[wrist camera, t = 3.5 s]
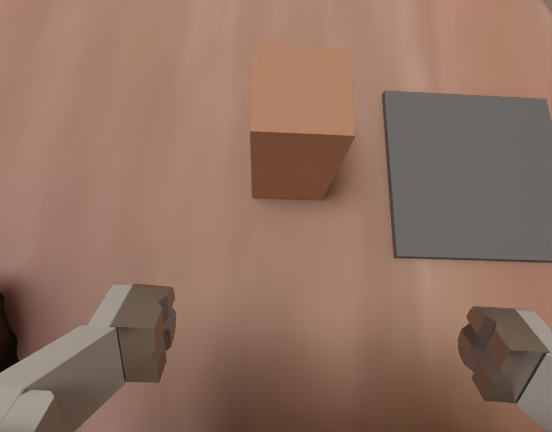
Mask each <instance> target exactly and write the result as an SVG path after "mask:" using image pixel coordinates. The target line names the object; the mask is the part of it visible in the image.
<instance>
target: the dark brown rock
mask: <svg viewBox="0 0 552 432" xmlns="http://www.w3.org/2000/svg"><path fill="white" fill-rule="evenodd" d="M3 300H4V296H3V295H2V293H0V373H1V372H2V371H4V370H6V369H7V368H9V367H11V366H13V365H14V364H16V363H18V362H19V360H18V358H17V354H16V350H17V343H18V342H17V338H16V336H15V334H14V333H13V332H12V330H11V329H10V326H9V325H8V322H7V317H6V314H5V309H4V303H3Z"/></svg>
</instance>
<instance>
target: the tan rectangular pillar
mask: <svg viewBox="0 0 552 432" xmlns="http://www.w3.org/2000/svg"><path fill="white" fill-rule="evenodd" d="M354 138H355V117H354V95H353V74H352V53H351V49H340V48H322V47H303V46H285V45H267V44H254V59H253V81H252V103H251V126H250V141H251V180H252V198H274V199H302V200H323V198H324V196H325V194H326V192H327V190H328V188H329V186H330V184H331V182H332V180H333V178H334V176H335V174H336V173H337V171H338V169H339V167H340V165H341V163H342V161H343V159H344V157H345V155H346V153H347V151H348V149H349V147H350V145H351V143H352V141H353V139H354Z"/></svg>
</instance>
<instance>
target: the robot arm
mask: <svg viewBox="0 0 552 432" xmlns="http://www.w3.org/2000/svg"><path fill="white" fill-rule="evenodd" d="M174 300H175V295H174V289H173V287H168V286H156V285H145V284H130V283H117V282H116V283H115V284H113V285H112V286H111V288H110V289H109V291H108V293H107V294H106V296H105V297H104V299H103V301H102V302H101V304H100V305H99V307H98V309H97V310H96V312H95V313H94V315H93V317H92V318H91V320H90V321H89V323H88V325H87V326H83V325H81V326H79V327H77V328H76V329H74V330H72V331H71V332H69V333H67V334H65V335H64V336H62V337H60V338H59V339H57V340H55V341H53V342H52V343H50V344H48V345H47V346H45V347H43V348H42V349H40V350H38V351H36V352H35V353H33V354H31V355H30V356H28V357H26V358H25V359H23V360H21V361H19V362H18V363H16V364H14V365H13V366H11V367H9V368H7V369H6V370H4V371H2V372H1V373H0V432H74V431H76V430H77V429H78V428H79V427H80V426H81V425H82V424H83V423H84V422H85V421H86V420H87V419H88V418H89V417H90V416H91V415H92V414H93V413H95V412H96V411H97V410H98V409H99V408H100V407H101V406H102V405H103V404H104V403H105V402H106V401H107V400H108V399H109V398H110V397H111V396H112V395H114V394H115V393H116V392H117V391H118V390H119V389H120V388H121V387H122V386H123V385H124V384H125V382H154V383H159V382H160V379H161V376H162V373H163V370H164V367H165V364H166V351H167V350H168V349H169V348H170V347H171V345H172V342H173V339H174V333H175V328H176V312H175V310H174V309H173V308H172V306H173V303H174ZM467 320H468V322H469V324H468V325H467V326H465V327H464V328H462V329H461V331H460V334H459V337H458V350H459V354H460V357H461V359H462V361H463V363H464V364H465V365H466V366H467V367H468V368H470V369H471V370H472V371H474V372H473V376H472V379H473V381H474V383H475V385H476V387H477V389H478V390H479V392H480V394H481V396H482V398H483V400H484V401H496V402H508V403H517V404H516V405H517V406H518V407H519V408H520V409H521V410H523V411H524V412H525V413H526V414H527V415H528V416H529V417H530V418H531V419H532V420H534V421H535V422H536V423H537V424H538V425H539V426H540V427H541V428H542V429H543V430H545V431H546V432H552V331H551V330H550V328H549V327H548V326H547V325H546V324H545V323H544V322H543V321H542V319H541V318H540V317H539V316H538V315H537V314H536V313H535V312H534V311H532V310H530V309H525V308H496V307H479V306H473V307H472V308H471V309H470V310H469V312H468V315H467Z"/></svg>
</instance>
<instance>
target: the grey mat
mask: <svg viewBox="0 0 552 432" xmlns="http://www.w3.org/2000/svg"><path fill="white" fill-rule="evenodd" d="M382 99H383V113H384V127H385V140H386V154H387V168H388V182H389V195H390V209H391V223H392V236H393V250H394V258H427V259H460V260H493V261H526V262H552V123H551V118H550V114H549V109H548V105H547V100H546V99H539V98H519V97H499V96H479V95H459V94H439V93H420V92H400V91H384V93H383V94H382Z"/></svg>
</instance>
